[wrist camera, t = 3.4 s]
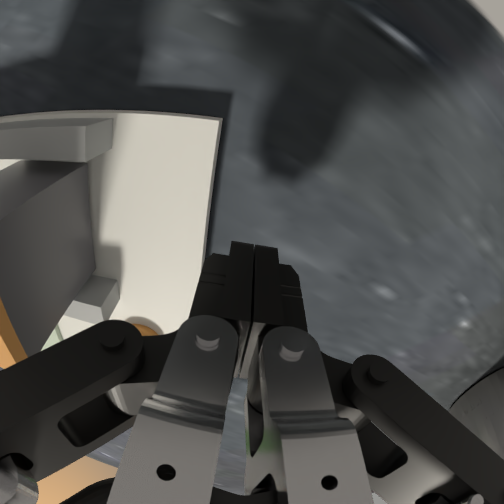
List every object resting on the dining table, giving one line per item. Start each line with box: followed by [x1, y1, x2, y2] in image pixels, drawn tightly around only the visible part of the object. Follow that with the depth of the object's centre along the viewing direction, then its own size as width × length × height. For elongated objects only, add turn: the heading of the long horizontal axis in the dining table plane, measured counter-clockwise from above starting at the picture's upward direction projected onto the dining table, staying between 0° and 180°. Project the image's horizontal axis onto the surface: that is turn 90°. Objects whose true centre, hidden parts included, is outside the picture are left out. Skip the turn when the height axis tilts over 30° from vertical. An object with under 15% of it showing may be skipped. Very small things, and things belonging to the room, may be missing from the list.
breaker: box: [0, 160, 96, 369], centre depth 8 cm, size 4×5×7 cm
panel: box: [0, 110, 223, 351], centre depth 14 cm, size 22×22×3 cm
